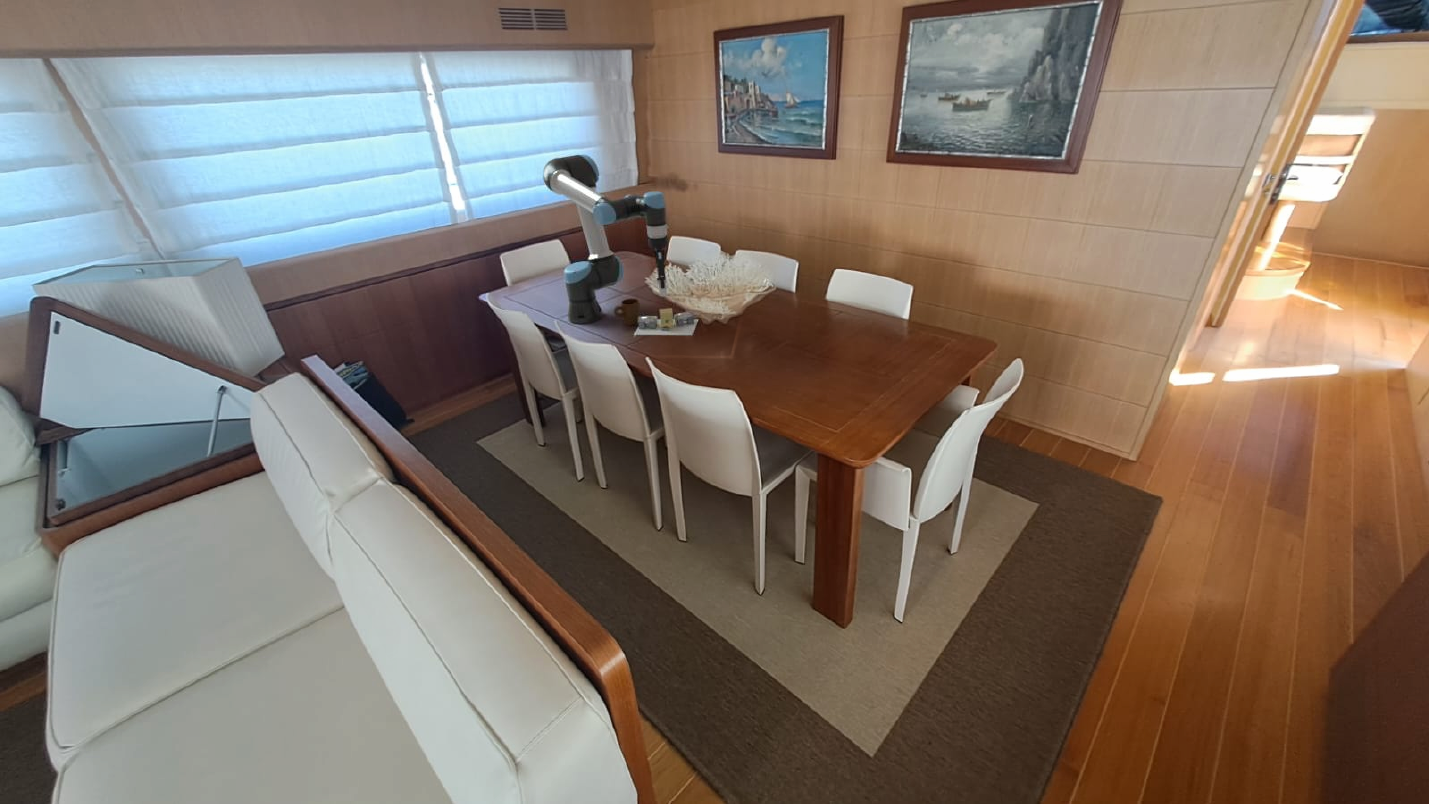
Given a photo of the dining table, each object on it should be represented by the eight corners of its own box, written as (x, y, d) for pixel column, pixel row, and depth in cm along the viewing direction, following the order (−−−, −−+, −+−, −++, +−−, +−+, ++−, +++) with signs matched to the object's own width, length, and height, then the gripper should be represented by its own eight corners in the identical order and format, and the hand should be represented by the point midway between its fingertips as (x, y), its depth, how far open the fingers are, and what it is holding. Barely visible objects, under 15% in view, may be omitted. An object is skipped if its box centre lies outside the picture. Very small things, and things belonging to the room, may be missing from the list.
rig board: (634, 337, 219) (633, 332, 218) (643, 321, 233) (642, 316, 232) (692, 337, 216) (692, 332, 215) (698, 322, 230) (698, 317, 228)
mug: (621, 330, 226) (618, 309, 221) (611, 325, 231) (608, 304, 226) (645, 322, 232) (642, 301, 228) (635, 317, 237) (632, 297, 233)
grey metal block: (677, 326, 223) (676, 316, 221) (674, 323, 227) (673, 312, 224) (694, 323, 225) (694, 313, 223) (690, 319, 229) (690, 309, 227)
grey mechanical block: (638, 328, 223) (636, 318, 221) (641, 324, 227) (639, 314, 225) (656, 329, 222) (654, 318, 220) (658, 324, 226) (657, 314, 224)
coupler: (674, 328, 222) (672, 312, 218) (661, 329, 221) (660, 313, 218) (673, 324, 226) (671, 308, 222) (661, 325, 226) (659, 309, 222)
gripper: (669, 243, 194) (674, 300, 206) (665, 227, 216) (670, 278, 227) (648, 245, 194) (654, 301, 205) (646, 228, 215) (652, 280, 226)
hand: (662, 289), depth 216 cm, fingers open, 13 cm apart
